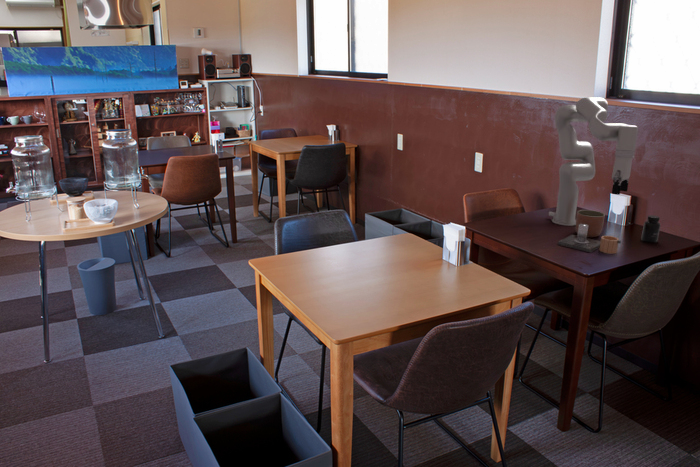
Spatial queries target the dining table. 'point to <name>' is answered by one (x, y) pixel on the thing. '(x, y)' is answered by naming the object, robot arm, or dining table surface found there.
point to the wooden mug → (609, 244)
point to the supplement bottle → (651, 229)
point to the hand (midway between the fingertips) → (619, 192)
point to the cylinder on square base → (580, 240)
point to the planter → (590, 221)
